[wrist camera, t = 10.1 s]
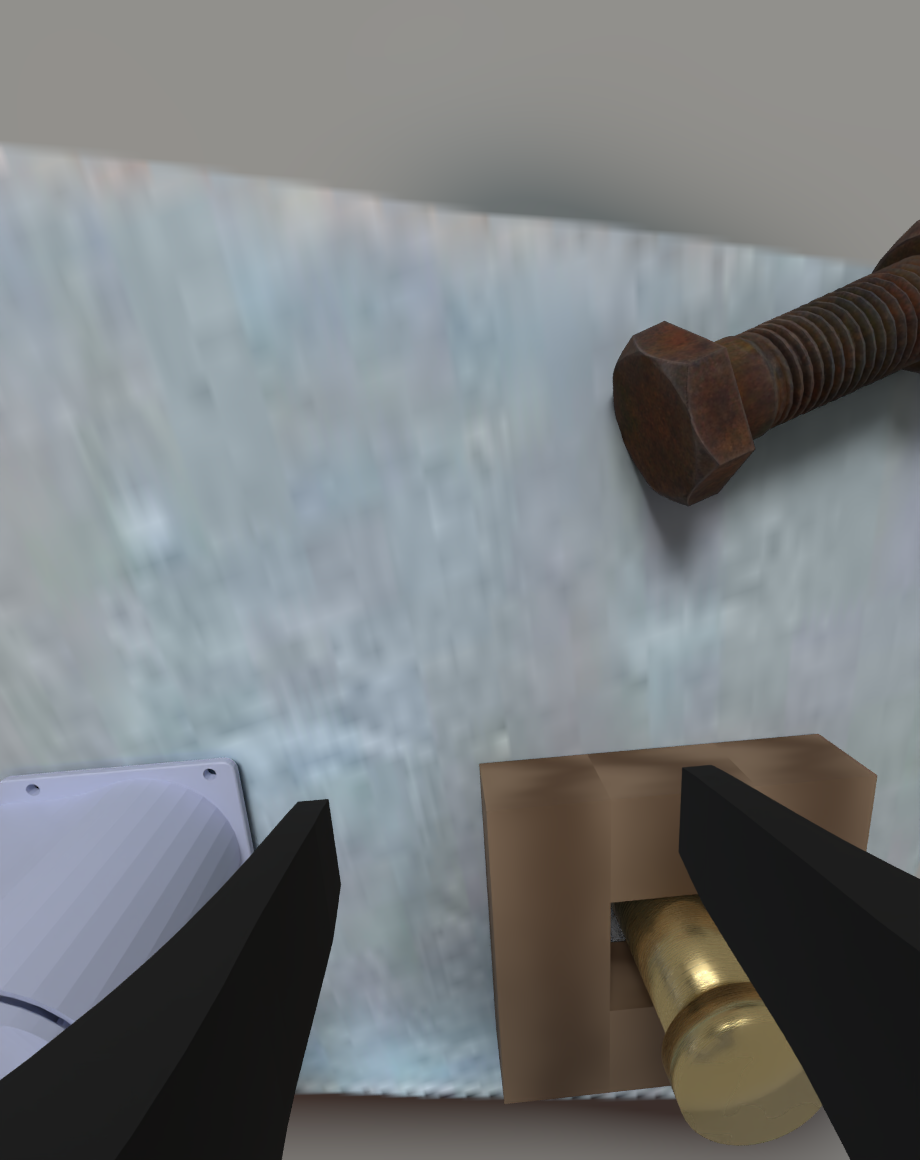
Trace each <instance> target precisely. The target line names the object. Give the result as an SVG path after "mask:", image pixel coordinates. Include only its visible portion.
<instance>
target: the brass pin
mask: <svg viewBox="0 0 920 1160" xmlns="http://www.w3.org/2000/svg"><path fill="white" fill-rule="evenodd" d="M611 906H612V908H613V911H614V913H615V915H616V918H617V920H618V923H619V925H620V927H621V930H622V932H623V934H624V937H625V939H626V941H627V944H628V946H629V948H630V951H631V953H632V956H633V958H634V960H635V963H636V965H637V967H638V970H639V972H640V974H641V977H642V979H643V981H644V984H645V986H646V989H647V991H648V993H649V996H650V998H651V1000H652V1003H653V1005H654V1007H655V1010H656V1012H657V1014H658V1017H659V1019H660V1022H661V1024H662V1026H663V1029H664V1031H665V1036H664V1039H663V1043H662V1053H661V1056H662V1063H663V1066H664V1069H665V1072H666V1074H667V1077H668V1079H669V1082H670V1084H671V1087H672V1089H673V1092H674V1094H675V1097H676V1099H677V1102H678V1104H679V1107H680V1109H681V1112H682V1114H683V1116H684V1118H685V1120H686V1122H687V1123H688V1124H689V1125H690V1127H691V1128H692V1129H693V1130H695V1132H697V1133H698V1134H700V1135H701V1136H703V1137H704V1138H707V1139H709V1140H711V1141H714V1142H717V1143H721V1144H726V1145H738V1146H739V1145H752V1144H759V1143H764V1142H768V1141H771V1140H774V1139H777V1138H779V1137H781V1136H784V1135H786V1134H788V1133H790V1132H792V1131H793V1130H795V1129H797V1128H798V1127H800V1126H801V1125H803V1124H804V1123H805V1122H806V1121H807V1120H809V1119H810V1118H811V1117H812V1116H813V1115H814V1114H815V1113H816V1112H817V1111H818V1110H819V1109H820V1107H821V1106H822V1104H821V1102H820V1100H819V1098H818V1096H817V1094H816V1092H815V1090H814V1088H813V1087H812V1085H811V1083H810V1081H809V1079H808V1077H807V1075H806V1073H805V1071H804V1069H803V1068H802V1066H801V1064H800V1062H799V1061H798V1059H797V1057H796V1055H795V1054H794V1052H793V1050H792V1049H791V1047H790V1045H789V1043H788V1042H787V1040H786V1038H785V1036H784V1035H783V1033H782V1031H781V1030H780V1028H779V1027H778V1025H777V1023H776V1022H775V1020H774V1019H773V1017H772V1015H771V1014H770V1012H769V1011H768V1009H767V1007H766V1006H765V1004H764V1003H763V1001H762V999H761V998H760V996H759V994H758V993H757V991H756V990H755V988H754V986H753V985H752V983H751V982H750V980H749V978H748V977H747V975H746V974H745V972H744V970H743V969H742V967H741V966H740V964H739V962H738V961H737V959H736V958H735V956H734V954H733V953H732V951H731V949H730V948H729V946H728V945H727V943H726V941H725V940H724V938H723V936H722V935H721V933H720V932H719V930H718V928H717V927H716V925H715V923H714V922H713V920H712V918H711V917H710V915H709V913H708V912H707V910H706V908H705V907H704V905H703V903H702V901H701V899H700V897H699V895H698V894H693V895H683V896H673V897H663V898H653V899H643V900H633V901H622V902H612V903H611Z"/></svg>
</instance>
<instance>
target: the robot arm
mask: <svg viewBox="0 0 920 1160" xmlns="http://www.w3.org/2000/svg"><path fill="white" fill-rule="evenodd" d="M207 769H213V770H214V771H215V772H216V774H211V773H210V772H209V771H208V770H207ZM35 785H36V786H38V787H39V789H38V788H36V787H35ZM678 852H679V854H680V857H681V859H682V861H683V863H684V865H685V868H686V870H687V872H688V874H689V876H690V879H691V881H692V883H693V885H694V887H695V889H696V891H697V893H698V895H699V897H700V899H701V901H702V903H703V905H704V907H705V908H706V910H707V912H708V913H709V915H710V917H711V918H712V920H713V922H714V923H715V925H716V927H717V928H718V930H719V932H720V933H721V935H722V936H723V938H724V940H725V941H726V943H727V945H728V946H729V948H730V949H731V951H732V953H733V954H734V956H735V958H736V959H737V961H738V962H739V964H740V966H741V967H742V969H743V970H744V972H745V974H746V975H747V977H748V978H749V980H750V982H751V983H752V985H753V986H754V988H755V990H756V991H757V993H758V994H759V996H760V998H761V999H762V1001H763V1003H764V1004H765V1006H766V1007H767V1009H768V1011H769V1012H770V1014H771V1015H772V1017H773V1019H774V1020H775V1022H776V1023H777V1025H778V1027H779V1028H780V1030H781V1031H782V1033H783V1035H784V1036H785V1038H786V1040H787V1042H788V1043H789V1045H790V1047H791V1049H792V1050H793V1052H794V1054H795V1055H796V1057H797V1059H798V1061H799V1062H800V1064H801V1066H802V1068H803V1069H804V1071H805V1073H806V1075H807V1077H808V1079H809V1081H810V1083H811V1085H812V1087H813V1088H814V1090H815V1092H816V1094H817V1096H818V1098H819V1100H820V1102H821V1104H822V1106H823V1108H824V1110H825V1111H826V1113H827V1115H828V1117H829V1119H830V1121H831V1123H832V1125H833V1126H834V1129H835V1130H836V1132H837V1134H838V1136H839V1138H840V1140H841V1142H842V1144H843V1146H844V1148H845V1150H846V1152H847V1154H848V1156H849V1157H850V1160H920V879H919V878H917V877H915V876H913V875H911V874H909V873H906V872H904V871H902V870H900V869H898V868H896V867H894V866H893V865H891V864H889V863H887V862H885V861H883V860H881V859H879V858H877V857H875V856H873V855H871V854H870V853H868V852H866V851H864V850H862V849H860V848H858V847H856V846H854V845H852V844H851V843H849V842H847V841H845V840H843V839H841V838H840V837H838V836H836V835H834V834H832V833H830V832H829V831H827V830H825V829H823V828H822V827H820V826H818V825H816V824H814V823H813V822H811V821H809V820H807V819H806V818H804V817H802V816H800V815H799V814H797V813H795V812H794V811H792V810H790V809H788V808H787V807H785V806H783V805H782V804H780V803H778V802H776V801H775V800H773V799H771V798H770V797H768V796H766V795H764V794H763V793H761V792H759V791H758V790H756V789H754V788H753V787H751V786H749V785H747V784H746V783H744V782H742V781H740V780H739V779H737V778H735V777H734V776H732V775H730V774H728V773H726V772H725V771H723V770H721V769H719V768H717V767H715V766H713V765H703V766H691V767H682V781H681V804H680V827H679V850H678ZM340 887H341V882H340V875H339V868H338V861H337V854H336V848H335V841H334V834H333V827H332V820H331V813H330V807H329V800H328V799H324V800H313V801H302V802H297V803H296V804H295V806H294V807H293V808H292V809H291V810H290V811H289V812H288V813H287V814H286V815H285V817H284V818H283V819H282V820H281V821H280V822H279V823H278V825H277V826H276V827H275V828H274V829H273V830H272V831H271V833H270V834H269V835H268V836H267V837H266V838H265V840H264V841H263V842H262V843H261V844H260V845H259V846H258V848H257V849H256V850H255V851H254V849H253V843H252V838H251V833H250V828H249V823H248V817H247V812H246V807H245V802H244V796H243V791H242V786H241V781H240V776H239V770H238V766H237V764H236V763H235V762H234V761H233V760H232V759H230V758H212V759H201V760H189V761H178V762H166V763H155V764H143V765H131V766H120V767H108V768H97V769H85V770H73V771H62V772H50V773H39V774H27V775H16V776H9V777H6V778H5V779H3V780H2V781H1V782H0V1160H282V1154H283V1148H284V1143H285V1137H286V1132H287V1126H288V1122H289V1117H290V1112H291V1108H292V1103H293V1099H294V1094H295V1090H296V1086H297V1082H298V1078H299V1074H300V1070H301V1066H302V1062H303V1058H304V1054H305V1050H306V1046H307V1042H308V1038H309V1034H310V1030H311V1026H312V1023H313V1019H314V1015H315V1011H316V1007H317V1003H318V999H319V995H320V991H321V987H322V983H323V979H324V975H325V971H326V967H327V963H328V959H329V955H330V951H331V946H332V942H333V937H334V930H335V923H336V917H337V909H338V902H339V895H340Z"/></svg>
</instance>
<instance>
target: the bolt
mask: <svg viewBox="0 0 920 1160" xmlns="http://www.w3.org/2000/svg"><path fill="white" fill-rule="evenodd" d="M901 369H903V370H908V371H912V372H916V373H920V220H918V221H917V222H916V223H915V224H914V225H913V226H912V227H911V228H910V229H909V230H908V231H907V232H906V233H905V234H904V235H903V236H902V237H901V238H900V239H899V240H898V241H897V242H896V243H895V244H894V245H893V246H892V247H891V249H890V250H889V251H888V252H887V253H886V254H885V255H884V257H883V258H882V259H881V260H880V261H879V263H878V264H877V266H876V267H875V269H874V271H873V272H872V274H870V275H868V276H865V277H863V278H861V279H858V280H856V281H854V282H852V283H850V284H848V285H846V286H844V287H843V288H839V289H837V290H835V291H834V292H832V293H828V294H826V295H824V296H822V297H820V298H817V299H815V300H813V301H811V302H809V303H808V304H805V305H802V306H800V307H799V308H797V309H794V310H791V311H790V312H787V313H785V314H783V315H781V316H778V317H775V318H773V319H771V320H769V321H767V322H764V323H762V324H760V325H758V326H756V327H755V328H751V329H749V330H747V331H745V332H743V333H741V334H738V335H736V336H729V337H725V338H722V339H720V340H718V341H716V342H713V341H710V340H708V339H706V338H704V337H701V336H699V335H697V334H694V333H692V332H689V331H687V330H685V329H682V328H680V327H678V326H675V325H673V324H671V323H668V322H666V321H663V322H661V323H659V324H657V325H655V326H653V327H650V328H648V329H646V330H644V331H642V332H640V333H638V334H635V335H633V336H632V338H631V339H630V341H629V342H628V344H627V345H626V347H625V348H624V350H623V351H622V353H621V355H620V357H619V359H618V361H617V363H616V366H615V369H614V373H613V397H614V407H615V413H616V419H617V422H618V425H619V428H620V431H621V435H622V438H623V441H624V443H625V446H626V448H627V450H628V452H629V454H630V456H631V457H632V459H633V461H634V463H635V465H636V466H637V468H638V469H639V471H640V472H641V474H642V475H643V477H644V478H645V480H646V481H647V483H648V484H649V485H650V486H651V487H652V489H653V490H655V491H656V492H657V493H659V494H660V495H662V496H664V497H666V498H668V499H670V500H672V501H675V502H678V503H681V504H684V505H687V506H690V505H692V504H695V503H697V502H699V501H701V500H704V499H706V498H708V497H710V496H713V495H715V494H717V493H719V491H720V490H721V489H722V488H723V487H724V485H725V484H726V483H727V482H728V481H729V480H730V478H731V477H732V476H733V475H734V474H735V472H736V471H737V470H738V469H739V468H740V467H741V465H742V464H743V463H744V462H745V461H746V459H747V458H748V457H749V456H750V455H751V454H752V452H753V451H754V450H755V446H754V442H753V440H754V439H756V438H758V437H760V436H762V435H764V434H765V433H766V432H767V431H768V430H769V429H771V428H773V427H775V426H777V425H779V424H782V423H785V422H787V421H788V420H791V419H794V418H796V417H797V416H799V415H801V414H805V413H807V412H809V411H811V410H813V409H815V408H817V407H821V406H823V405H825V404H827V403H828V402H831V401H834V400H836V399H838V398H840V397H843V396H846V395H847V394H849V393H852V392H854V391H856V390H858V389H859V388H861V387H863V386H867V385H869V384H871V383H874V382H875V381H877V380H880V379H882V378H884V377H886V376H888V375H891V374H893V373H895V372H897V371H899V370H901Z"/></svg>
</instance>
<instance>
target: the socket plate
mask: <svg viewBox="0 0 920 1160" xmlns="http://www.w3.org/2000/svg"><path fill="white" fill-rule="evenodd" d="M703 765H713V766H715V767H717V768H719V769H721V770H723V771H725V772H726V773H728V774H730V775H732V776H734V777H735V778H737V779H739V780H740V781H742V782H744V783H746V784H747V785H749V786H751V787H753V788H754V789H756V790H758V791H759V792H761V793H763V794H764V795H766V796H768V797H770V798H771V799H773V800H775V801H776V802H778V803H780V804H782V805H783V806H785V807H787V808H788V809H790V810H792V811H794V812H795V813H797V814H799V815H800V816H802V817H804V818H806V819H807V820H809V821H811V822H813V823H814V824H816V825H818V826H820V827H822V828H823V829H825V830H827V831H829V832H830V833H832V834H834V835H836V836H838V837H840V838H841V839H843V840H845V841H847V842H849V843H851V844H852V845H854V846H856V847H858V848H860V849H862V850H864V851H866V849H867V843H868V836H869V829H870V822H871V815H872V809H873V802H874V795H875V788H876V781H877V775H876V774H875V773H873V772H872V771H870V770H869V769H867V768H866V767H865V766H863V765H862V764H860V763H859V762H858V761H856V760H855V759H853V758H852V757H851V756H849V755H848V754H846V753H845V752H843V751H842V750H841V749H839V748H838V747H836V746H835V745H834V744H832V743H831V742H829V741H828V740H826V739H825V738H824V737H822V736H821V735H819V734H811V735H800V736H789V737H777V738H766V739H755V740H743V741H732V742H721V743H709V744H698V745H687V746H675V747H664V748H653V749H641V750H630V751H619V752H607V753H596V754H585V755H573V756H562V757H551V758H539V759H528V760H517V761H505V762H494V763H483V764H479V766H480V782H481V798H482V813H483V829H484V845H485V860H486V876H487V892H488V907H489V923H490V939H491V954H492V970H493V986H494V1001H495V1017H496V1031H497V1040H498V1049H499V1059H500V1068H501V1077H502V1086H503V1095H504V1104H511V1103H520V1102H528V1101H538V1100H547V1099H556V1098H565V1097H573V1096H582V1095H591V1094H600V1093H609V1092H618V1091H627V1090H636V1089H645V1088H654V1087H663V1086H671V1084H670V1082H669V1079H668V1077H667V1074H666V1072H665V1069H664V1066H663V1063H662V1056H661V1053H662V1043H663V1039H664V1036H665V1031H664V1029H663V1026H662V1024H661V1022H660V1019H659V1017H658V1014H657V1012H656V1010H655V1007H654V1005H653V1003H652V1000H651V998H650V996H649V993H648V991H647V989H646V986H645V984H644V981H643V979H642V977H641V974H640V972H639V970H638V967H637V965H636V963H635V960H634V958H633V956H632V953H631V951H630V948H629V946H628V944H627V941H618V942H610V923H611V903H612V902H622V901H633V900H643V899H653V898H663V897H673V896H683V895H693V894H698V893H697V891H696V889H695V887H694V885H693V883H692V881H691V879H690V876H689V874H688V872H687V870H686V868H685V865H684V863H683V861H682V859H681V857H680V854H679V852H678V850H679V827H680V804H681V781H682V767H691V766H703Z"/></svg>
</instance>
